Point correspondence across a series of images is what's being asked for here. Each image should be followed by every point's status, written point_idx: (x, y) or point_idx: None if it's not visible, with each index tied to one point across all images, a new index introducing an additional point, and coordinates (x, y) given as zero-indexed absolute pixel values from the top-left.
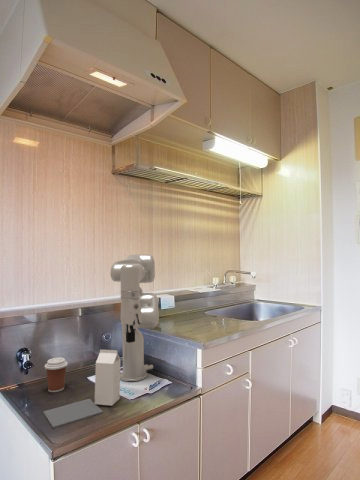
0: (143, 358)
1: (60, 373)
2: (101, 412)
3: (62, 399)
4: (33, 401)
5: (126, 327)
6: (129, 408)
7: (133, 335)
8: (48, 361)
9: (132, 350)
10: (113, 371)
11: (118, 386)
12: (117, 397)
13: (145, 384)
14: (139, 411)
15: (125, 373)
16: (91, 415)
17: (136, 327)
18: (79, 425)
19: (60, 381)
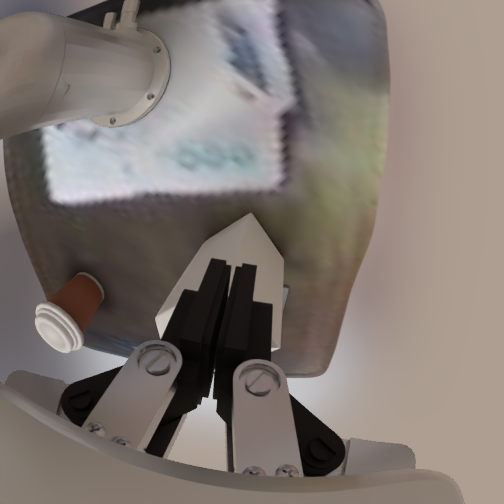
0: (111, 32)
1: (83, 318)
2: (288, 290)
3: (149, 306)
4: (130, 338)
5: (172, 444)
6: (327, 227)
7: (270, 343)
8: (58, 349)
9: (75, 94)
10: (280, 322)
11: (254, 239)
12: (262, 232)
13: (211, 73)
14: (363, 220)
15: (114, 113)
16: (282, 310)
17: (399, 467)
18: (296, 336)
19: (92, 303)
